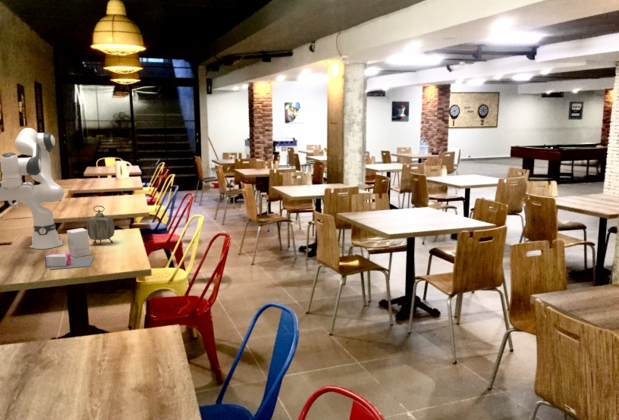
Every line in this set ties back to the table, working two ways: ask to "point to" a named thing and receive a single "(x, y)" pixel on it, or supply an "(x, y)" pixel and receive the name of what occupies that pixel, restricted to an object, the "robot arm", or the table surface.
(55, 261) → the supplement box
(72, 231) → the supplement box
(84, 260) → the mat
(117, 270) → the table surface
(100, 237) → the tabletop clock
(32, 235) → the robot arm
